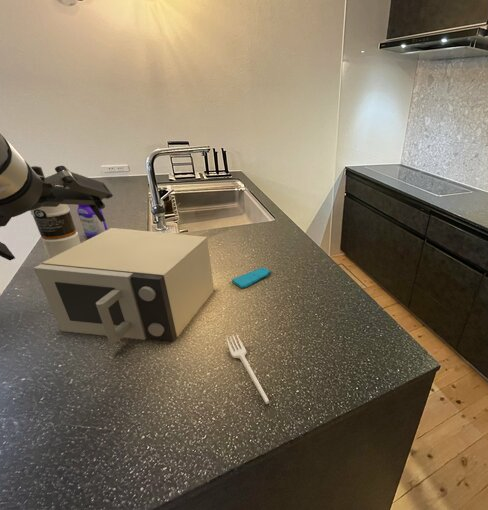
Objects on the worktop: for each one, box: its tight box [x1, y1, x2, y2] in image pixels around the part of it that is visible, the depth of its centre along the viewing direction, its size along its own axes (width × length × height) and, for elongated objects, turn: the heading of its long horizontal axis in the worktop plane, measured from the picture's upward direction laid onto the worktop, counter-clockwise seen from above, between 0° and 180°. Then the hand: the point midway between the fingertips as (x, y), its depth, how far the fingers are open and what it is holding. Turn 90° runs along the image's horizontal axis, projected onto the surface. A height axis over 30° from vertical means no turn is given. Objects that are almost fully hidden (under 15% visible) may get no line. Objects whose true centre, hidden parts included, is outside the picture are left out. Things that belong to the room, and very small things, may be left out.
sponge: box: [231, 266, 272, 289], centre depth 95 cm, size 2×12×6 cm
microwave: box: [41, 227, 215, 343], centre depth 75 cm, size 22×26×17 cm
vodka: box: [30, 165, 82, 260], centre depth 88 cm, size 9×9×30 cm
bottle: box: [76, 205, 108, 239], centre depth 110 cm, size 7×6×17 cm
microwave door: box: [33, 263, 147, 345], centre depth 64 cm, size 7×20×17 cm, turn 87°
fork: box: [226, 332, 271, 405], centre depth 64 cm, size 3×20×2 cm, turn 36°
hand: (56, 232), depth 53 cm, fingers open, 13 cm apart
